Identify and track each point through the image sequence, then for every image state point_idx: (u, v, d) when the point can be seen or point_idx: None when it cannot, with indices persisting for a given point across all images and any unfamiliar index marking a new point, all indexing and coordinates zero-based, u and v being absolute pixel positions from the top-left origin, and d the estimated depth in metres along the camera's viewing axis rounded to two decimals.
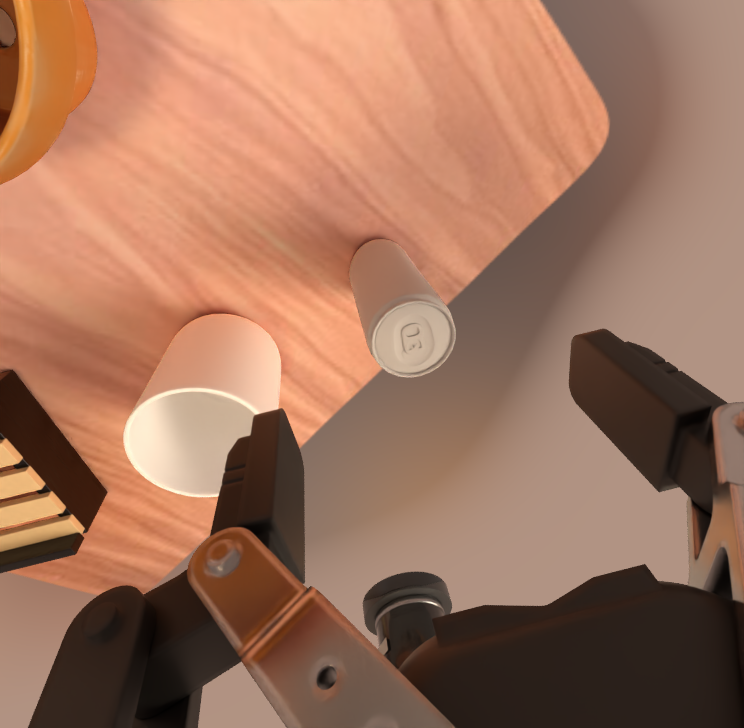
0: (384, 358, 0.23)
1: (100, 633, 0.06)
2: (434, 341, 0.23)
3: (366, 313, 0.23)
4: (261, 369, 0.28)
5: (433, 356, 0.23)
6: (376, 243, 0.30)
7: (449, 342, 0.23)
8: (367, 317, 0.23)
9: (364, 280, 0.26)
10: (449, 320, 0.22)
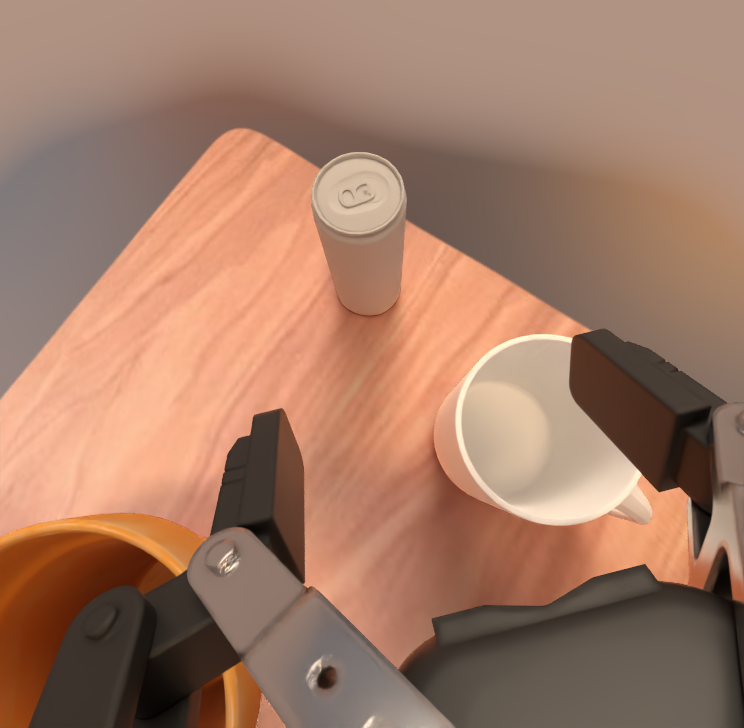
0: (383, 218, 0.21)
1: (100, 633, 0.06)
2: (357, 173, 0.21)
3: (350, 256, 0.22)
4: None
5: (376, 169, 0.21)
6: (336, 290, 0.31)
7: (358, 158, 0.21)
8: (350, 251, 0.22)
9: (345, 280, 0.26)
10: (332, 163, 0.21)
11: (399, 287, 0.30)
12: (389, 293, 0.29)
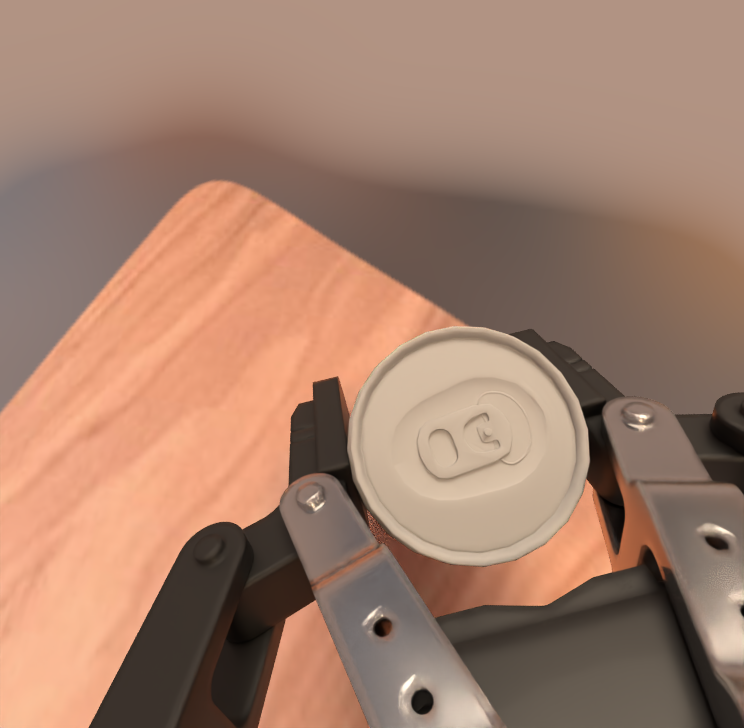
0: (537, 515, 0.08)
1: (206, 560, 0.07)
2: (463, 382, 0.08)
3: None
4: None
5: (509, 372, 0.09)
6: None
7: (463, 339, 0.09)
8: None
9: None
10: (399, 355, 0.09)
11: None
12: None
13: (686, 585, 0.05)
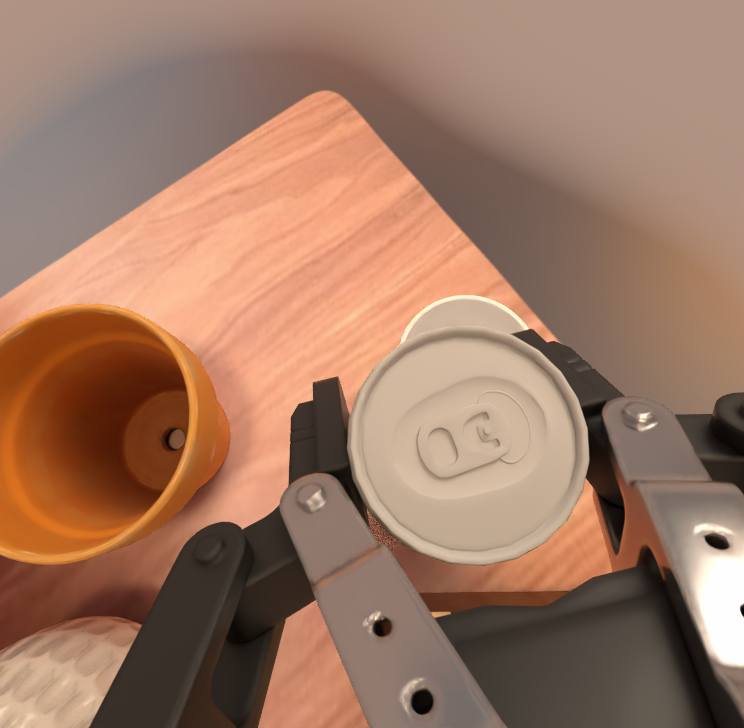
0: (537, 514, 0.08)
1: (206, 559, 0.07)
2: (462, 381, 0.08)
3: None
4: None
5: (509, 371, 0.09)
6: None
7: (462, 338, 0.09)
8: None
9: None
10: (399, 354, 0.09)
11: None
12: None
13: (686, 585, 0.05)
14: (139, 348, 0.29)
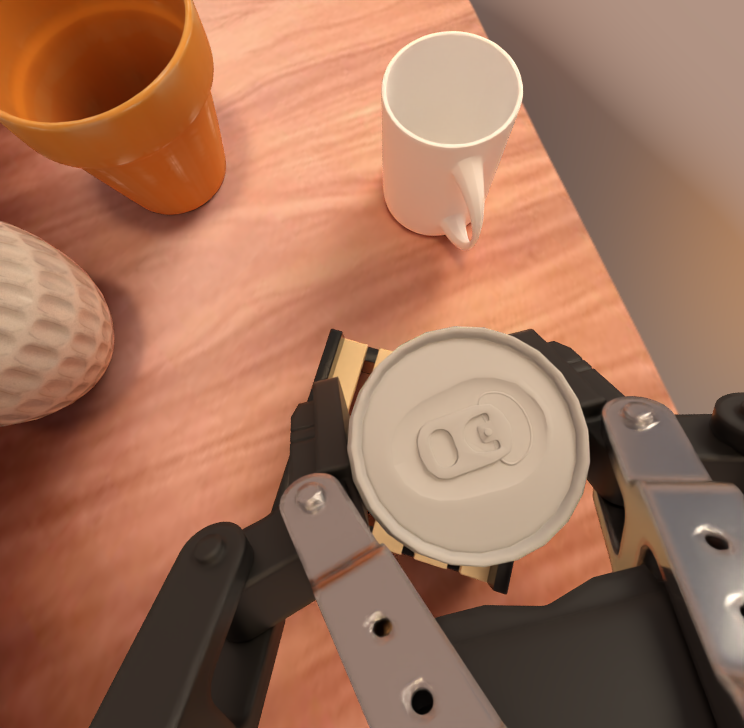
0: (537, 515, 0.08)
1: (206, 560, 0.07)
2: (463, 382, 0.08)
3: None
4: None
5: (509, 372, 0.09)
6: None
7: (463, 339, 0.09)
8: None
9: None
10: (399, 355, 0.09)
11: None
12: None
13: (686, 585, 0.05)
14: (161, 30, 0.31)
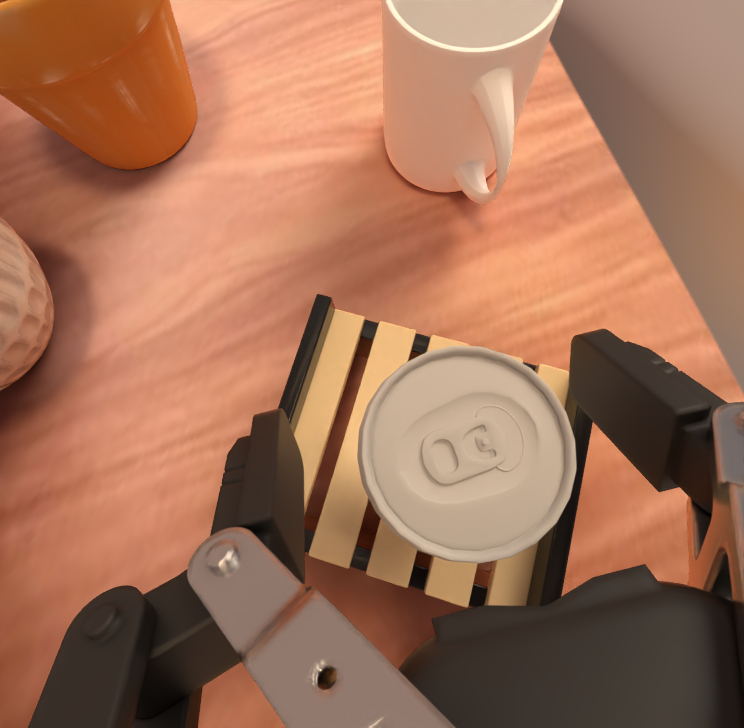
0: (529, 517, 0.09)
1: (100, 633, 0.06)
2: (462, 396, 0.09)
3: None
4: None
5: (504, 387, 0.09)
6: None
7: (462, 357, 0.10)
8: None
9: None
10: (405, 371, 0.10)
11: None
12: None
13: None
14: None
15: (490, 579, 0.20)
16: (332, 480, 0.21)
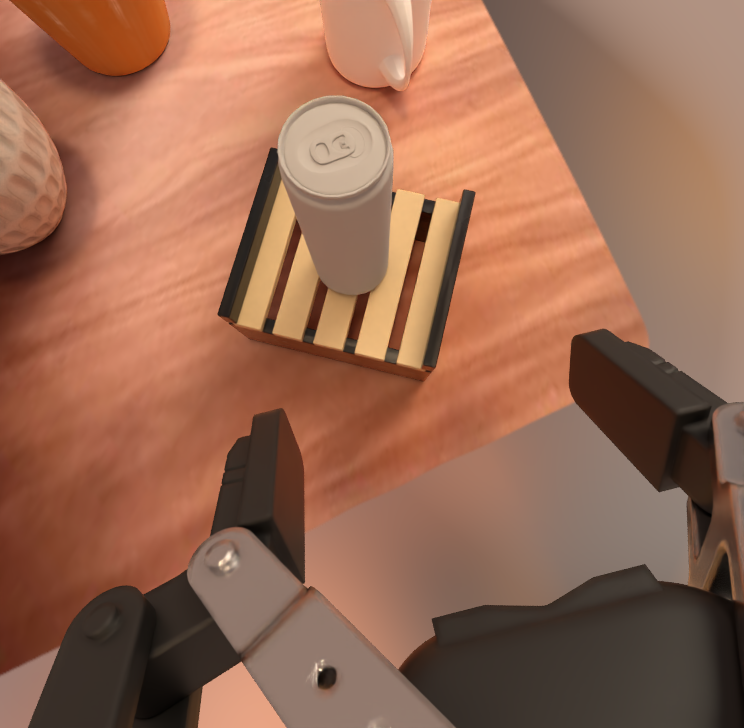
0: (366, 178, 0.17)
1: (101, 632, 0.06)
2: (332, 121, 0.17)
3: (328, 225, 0.19)
4: None
5: (355, 116, 0.17)
6: (315, 267, 0.27)
7: (333, 103, 0.17)
8: (327, 219, 0.18)
9: (324, 255, 0.22)
10: (301, 111, 0.17)
11: (386, 262, 0.27)
12: (375, 269, 0.25)
13: None
14: None
15: None
16: (287, 282, 0.29)
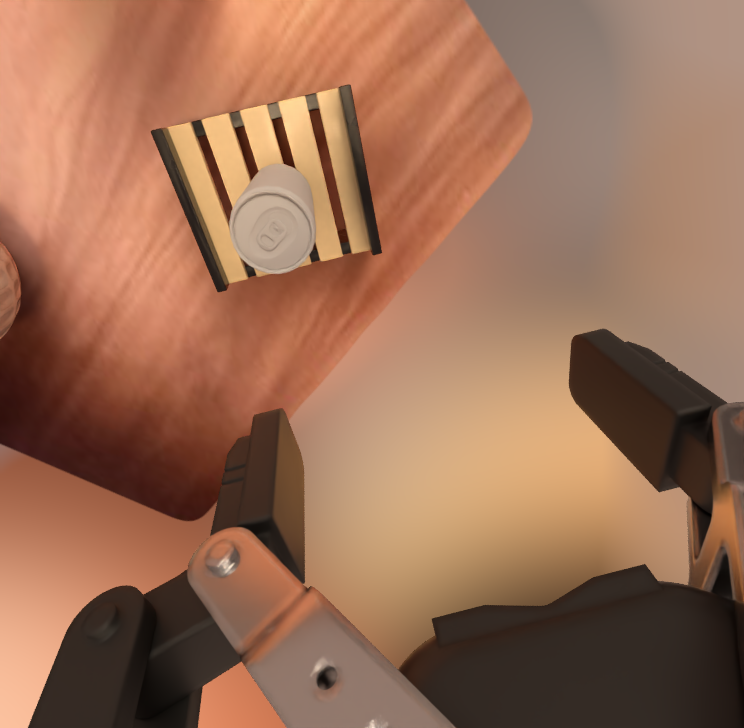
0: (305, 244, 0.24)
1: (100, 633, 0.06)
2: (259, 215, 0.23)
3: None
4: None
5: (272, 203, 0.23)
6: None
7: (250, 199, 0.23)
8: None
9: None
10: (234, 218, 0.23)
11: None
12: None
13: None
14: None
15: (348, 237, 0.36)
16: None
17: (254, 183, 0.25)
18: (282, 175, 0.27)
